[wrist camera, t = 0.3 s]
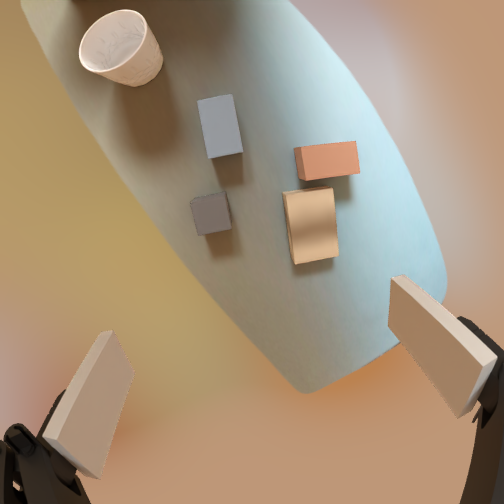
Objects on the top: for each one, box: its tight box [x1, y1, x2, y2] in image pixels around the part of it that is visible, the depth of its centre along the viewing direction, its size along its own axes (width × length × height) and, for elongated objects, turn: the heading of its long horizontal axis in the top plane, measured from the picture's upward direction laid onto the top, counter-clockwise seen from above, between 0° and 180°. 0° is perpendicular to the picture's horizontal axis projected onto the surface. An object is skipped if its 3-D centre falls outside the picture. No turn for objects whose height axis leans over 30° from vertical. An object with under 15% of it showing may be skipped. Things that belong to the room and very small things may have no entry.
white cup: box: [79, 10, 163, 87], centre depth 24 cm, size 8×8×10 cm
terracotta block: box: [294, 141, 360, 181], centre depth 33 cm, size 7×4×4 cm, turn 101°
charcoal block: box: [190, 191, 232, 236], centre depth 34 cm, size 4×4×4 cm
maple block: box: [282, 186, 339, 264], centre depth 36 cm, size 9×6×3 cm, turn 10°
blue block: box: [197, 94, 243, 159], centre depth 31 cm, size 7×4×4 cm, turn 10°
